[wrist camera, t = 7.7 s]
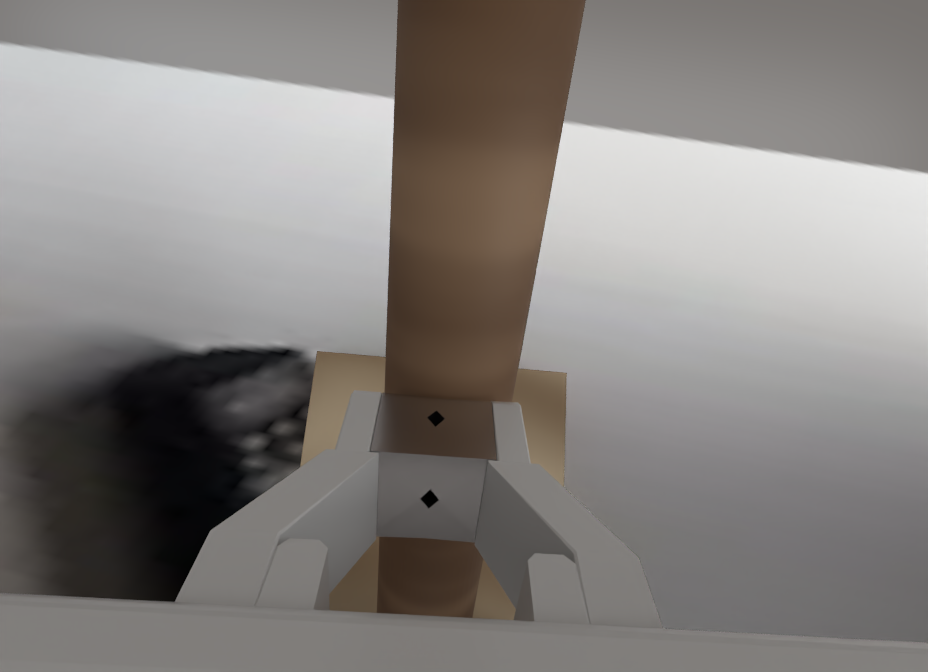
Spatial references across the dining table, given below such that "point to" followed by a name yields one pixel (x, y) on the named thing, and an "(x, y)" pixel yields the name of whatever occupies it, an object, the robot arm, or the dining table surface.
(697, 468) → the dining table surface
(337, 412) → the press base
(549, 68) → the lever
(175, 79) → the dining table surface
